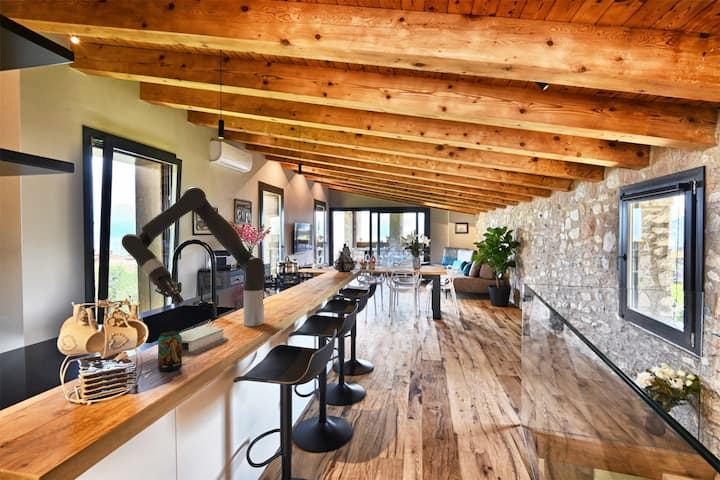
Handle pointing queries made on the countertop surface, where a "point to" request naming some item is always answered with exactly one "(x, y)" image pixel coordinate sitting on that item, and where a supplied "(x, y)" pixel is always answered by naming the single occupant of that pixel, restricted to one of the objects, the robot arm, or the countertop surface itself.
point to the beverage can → (169, 351)
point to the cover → (198, 334)
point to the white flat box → (203, 344)
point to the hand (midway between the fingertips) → (181, 302)
